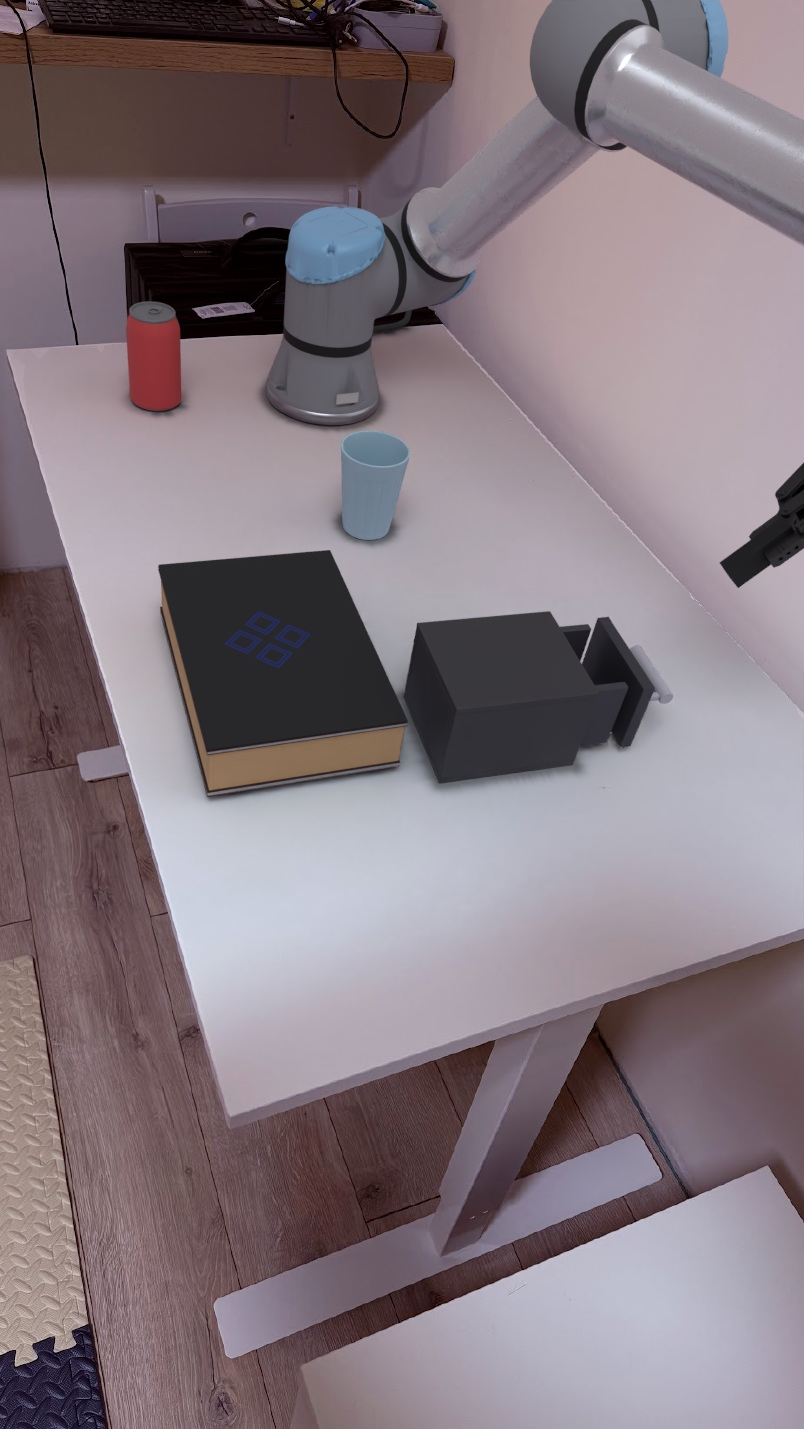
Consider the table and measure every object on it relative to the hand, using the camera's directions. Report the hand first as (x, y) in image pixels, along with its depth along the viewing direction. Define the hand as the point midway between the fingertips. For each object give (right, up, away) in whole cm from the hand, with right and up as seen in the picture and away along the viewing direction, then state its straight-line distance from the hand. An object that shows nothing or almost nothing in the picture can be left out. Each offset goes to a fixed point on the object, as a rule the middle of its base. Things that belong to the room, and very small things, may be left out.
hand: (728, 575), depth 91 cm
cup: (-34, +9, +28) cm, 45 cm away
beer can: (-62, +28, +42) cm, 80 cm away
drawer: (-13, -12, +8) cm, 20 cm away
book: (-42, -10, +6) cm, 44 cm away
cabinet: (-21, -14, +6) cm, 26 cm away
